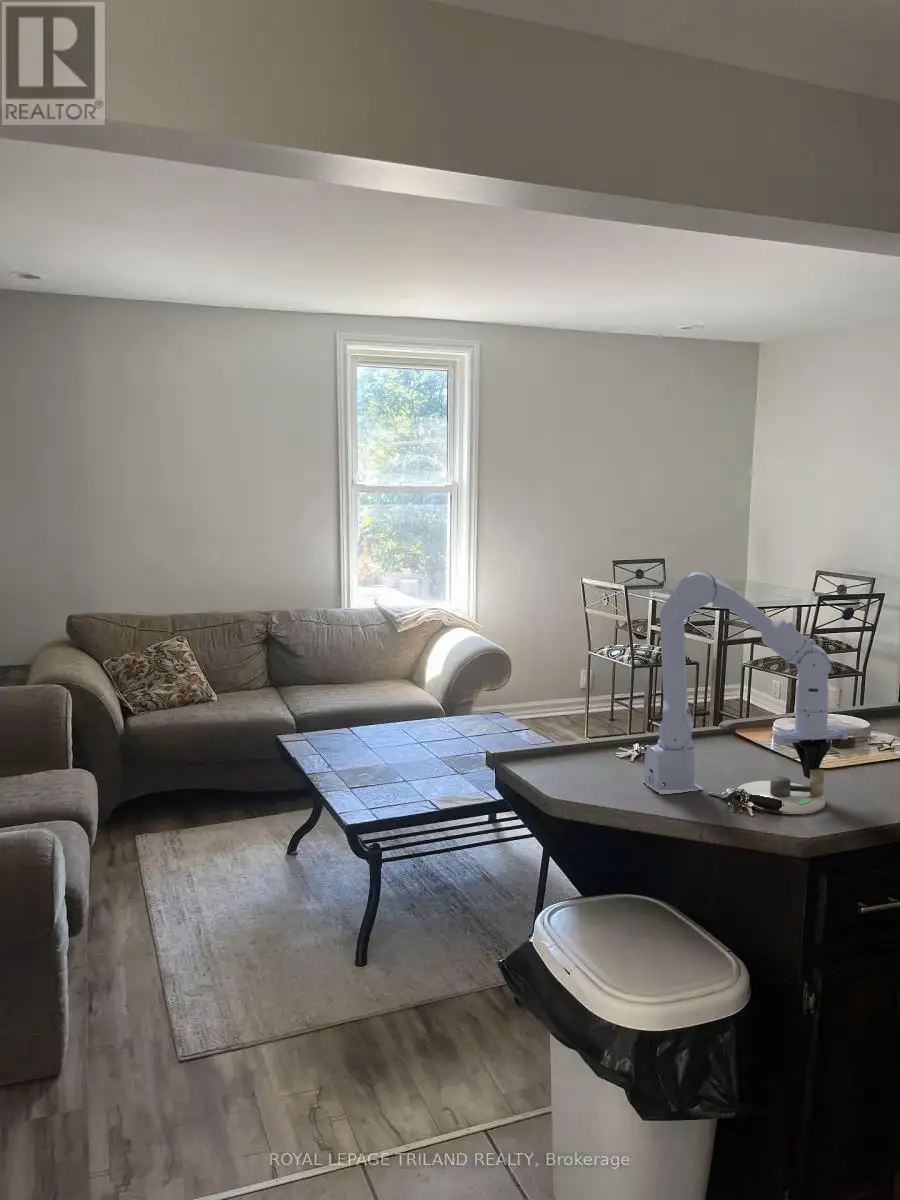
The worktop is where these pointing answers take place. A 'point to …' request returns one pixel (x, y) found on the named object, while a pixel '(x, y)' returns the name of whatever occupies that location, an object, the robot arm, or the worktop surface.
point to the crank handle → (783, 787)
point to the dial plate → (790, 803)
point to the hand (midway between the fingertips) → (809, 777)
